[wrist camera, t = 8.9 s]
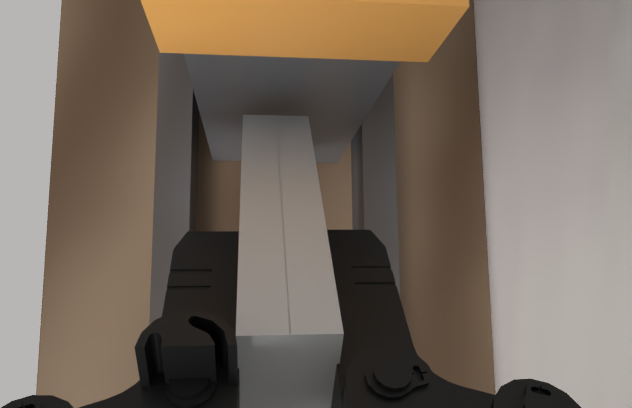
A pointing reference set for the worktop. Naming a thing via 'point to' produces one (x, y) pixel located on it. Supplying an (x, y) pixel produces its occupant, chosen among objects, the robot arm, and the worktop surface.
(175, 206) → the switch panel
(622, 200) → the worktop surface
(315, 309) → the robot arm
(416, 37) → the switch handle
